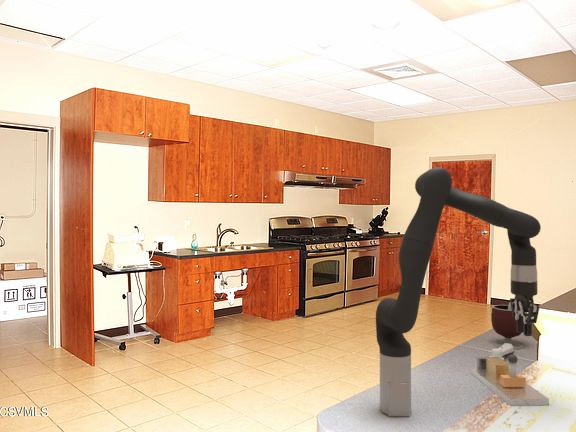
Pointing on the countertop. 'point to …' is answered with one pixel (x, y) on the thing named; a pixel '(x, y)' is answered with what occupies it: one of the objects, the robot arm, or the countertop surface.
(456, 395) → the countertop surface
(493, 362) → the block
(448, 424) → the countertop surface
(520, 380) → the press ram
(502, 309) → the mate gourd
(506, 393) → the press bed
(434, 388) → the countertop surface
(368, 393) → the countertop surface
